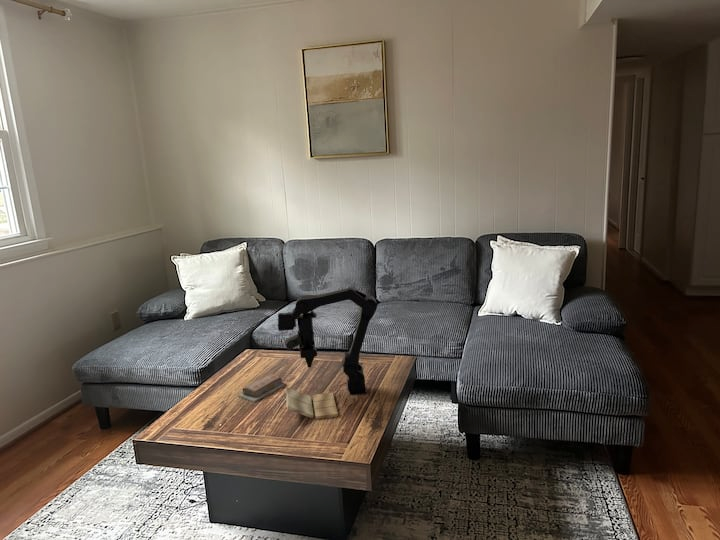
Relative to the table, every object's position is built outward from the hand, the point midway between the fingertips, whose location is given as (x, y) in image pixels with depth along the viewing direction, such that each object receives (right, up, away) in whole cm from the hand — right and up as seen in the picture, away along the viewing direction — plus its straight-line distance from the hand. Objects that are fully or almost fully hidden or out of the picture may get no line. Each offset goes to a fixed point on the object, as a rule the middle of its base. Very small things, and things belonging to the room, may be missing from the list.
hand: (309, 366), depth 208 cm
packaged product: (-20, -12, +9) cm, 26 cm away
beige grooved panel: (-3, -12, -10) cm, 16 cm away
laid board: (+7, -14, -9) cm, 17 cm away
